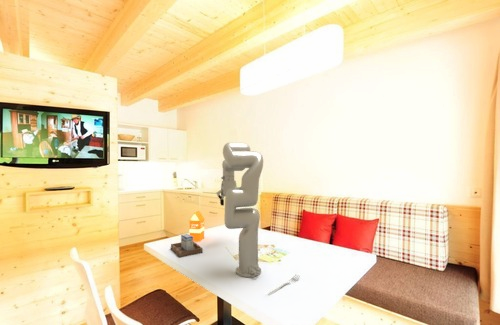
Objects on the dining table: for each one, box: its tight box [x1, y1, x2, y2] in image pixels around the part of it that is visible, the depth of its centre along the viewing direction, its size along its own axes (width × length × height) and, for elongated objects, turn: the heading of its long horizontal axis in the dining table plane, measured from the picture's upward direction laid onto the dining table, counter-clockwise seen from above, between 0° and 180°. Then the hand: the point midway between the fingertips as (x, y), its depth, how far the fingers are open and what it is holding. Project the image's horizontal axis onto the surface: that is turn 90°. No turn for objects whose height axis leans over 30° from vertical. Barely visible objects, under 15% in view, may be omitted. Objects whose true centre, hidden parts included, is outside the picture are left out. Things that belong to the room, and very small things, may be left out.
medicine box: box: [180, 233, 193, 251], centre depth 157 cm, size 8×4×9 cm, turn 41°
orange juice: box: [189, 210, 205, 243], centre depth 181 cm, size 8×9×20 cm
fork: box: [267, 274, 301, 296], centre depth 110 cm, size 3×24×2 cm, turn 135°
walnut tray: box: [170, 241, 204, 258], centre depth 157 cm, size 18×14×3 cm
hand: (228, 204), depth 166 cm, fingers open, 9 cm apart
